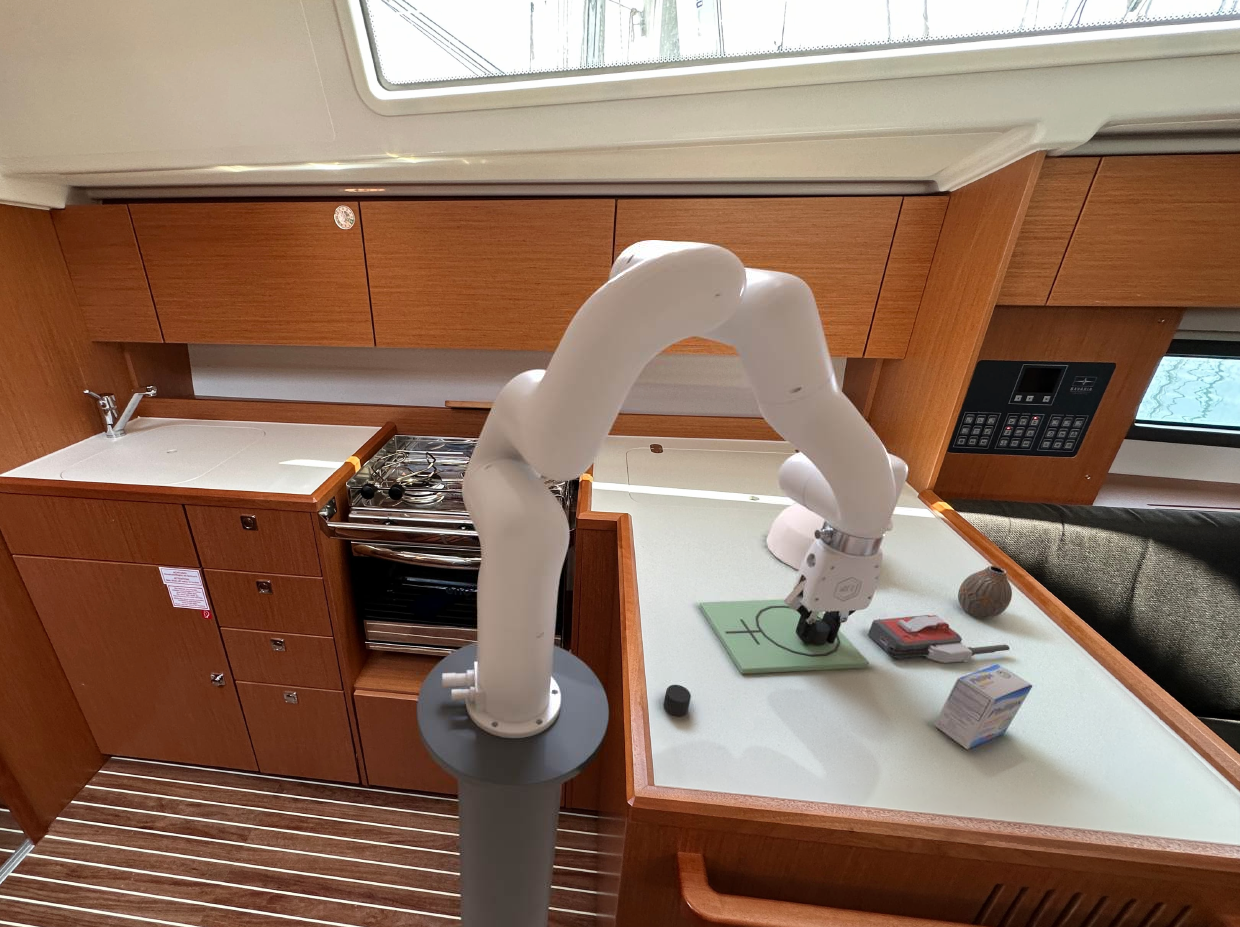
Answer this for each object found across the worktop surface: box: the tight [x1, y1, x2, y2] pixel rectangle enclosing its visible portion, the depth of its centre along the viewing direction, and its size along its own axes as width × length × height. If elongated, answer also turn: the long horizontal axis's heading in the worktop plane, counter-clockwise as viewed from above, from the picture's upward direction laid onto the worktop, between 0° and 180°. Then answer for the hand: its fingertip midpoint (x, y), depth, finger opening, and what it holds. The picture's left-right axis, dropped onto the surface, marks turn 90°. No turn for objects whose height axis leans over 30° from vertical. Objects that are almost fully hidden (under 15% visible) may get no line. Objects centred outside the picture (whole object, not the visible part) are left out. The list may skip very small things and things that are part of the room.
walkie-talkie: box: [867, 614, 1010, 664], centre depth 88 cm, size 9×4×20 cm
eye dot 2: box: [811, 619, 830, 645], centre depth 87 cm, size 3×3×3 cm
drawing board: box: [698, 599, 870, 675], centre depth 90 cm, size 20×16×1 cm
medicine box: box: [934, 663, 1033, 750], centre depth 72 cm, size 8×4×9 cm, turn 112°
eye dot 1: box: [663, 684, 692, 717], centre depth 75 cm, size 3×3×3 cm
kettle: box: [765, 502, 894, 571], centre depth 109 cm, size 20×21×18 cm
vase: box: [957, 565, 1013, 619], centre depth 96 cm, size 7×7×9 cm
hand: (814, 637), depth 87 cm, fingers closed on eye dot 2, 3 cm apart
